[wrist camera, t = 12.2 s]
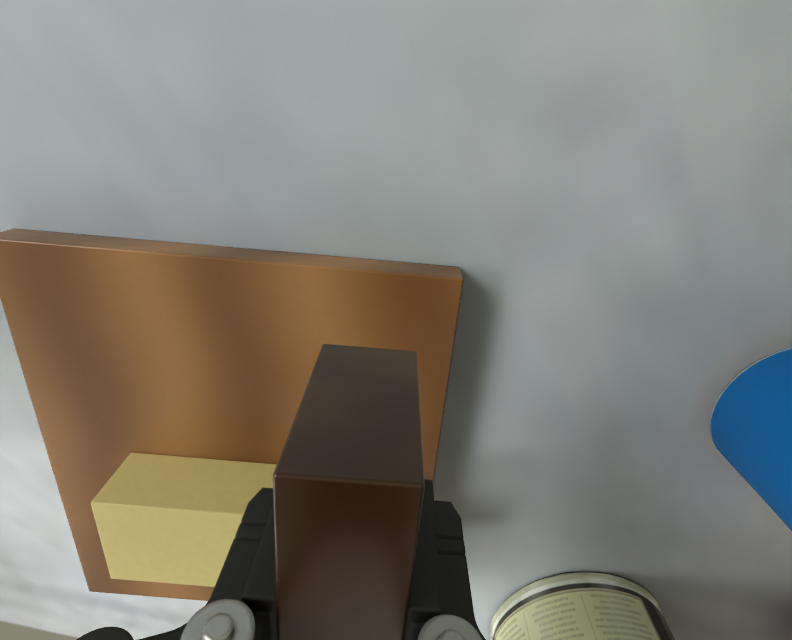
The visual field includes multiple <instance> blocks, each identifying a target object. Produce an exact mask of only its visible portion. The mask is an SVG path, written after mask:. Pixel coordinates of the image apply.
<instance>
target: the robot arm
mask: <svg viewBox="0 0 792 640" xmlns="http://www.w3.org/2000/svg"><path fill="white" fill-rule="evenodd" d="M424 482H425V489H424V496H423V504H422V511H421V519H420V526H419V533H418V541H417V548H416V556H415V563H414V571H413V578H412V586H411V593H410V601H409V608H408V611H407V619H406V628H405V636H404V640H486V639H485V638H484V637H483V635H482V634H481V632H480V630H479V628H478V626H477V624H476V621H475V617H474V612H473V605H472V597H471V590H470V583H469V575H468V568H467V561H466V556H465V546H464V541H463V531H462V524H461V518H460V516H459V515H458V513H457V511H456V510H455V508H454V506H453V505H452V503H451V502H446V501H434V495H433V483H432V480H428V479H424ZM77 640H134V639H133V638H132V636H131V635H130V633H129V632H127V631H126V630H124V629H122V628H118V627H104V628H100V629H96V630H94V631H91V632H89V633H87V634H85V635H83V636H82V637H80V638H78V639H77ZM139 640H277V600H276V572H275V537H274V501H273V488H262V489H261V490H260V491H259V492H258V493H257V494H256V495H255V496H254V497H253V498H252V499H251V500H250V501H249V502H248V505H247V507H246V510H245V512H244V515H243V517H242V520H241V524H240V525H239V527H238V530H237V532H236V535H235V539H234V540H233V542H232V545H231V547H230V550H229V552H228V555H227V557H226V560H225V562H224V565H223V567H222V570H221V572H220V575H219V577H218V580H217V582H216V585H215V587H214V590H213V592H212V595H211V597H210V599H209V601H208V602H207V604H206V605H205V606H204V607H203V608H201V609H200V610H199V611H198V612H196V613H195V614H194V615H193V616H192V618H191V619H190V620H189V622H188V623H186V624H184V625H183V626H181V627H179V628H177V629H175V630H172V631H169V632H166V633H162V634H158V635H154V636H150V637H147V638H143V639H139Z"/></svg>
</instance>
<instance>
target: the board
mask: <svg viewBox="0 0 792 640" xmlns="http://www.w3.org/2000/svg"><path fill="white" fill-rule="evenodd" d="M462 286H463V277H462V274H461V271H460V268H459V267H454V266H442V265H430V264H419V263H407V262H396V261H384V260H372V259H361V258H349V257H337V256H326V255H314V254H302V253H291V252H279V251H268V250H256V249H244V248H233V247H221V246H209V245H198V244H186V243H174V242H163V241H151V240H139V239H128V238H116V237H105V236H93V235H81V234H70V233H58V232H46V231H35V230H23V229H10V230H7V231H4V232H0V299H1V302H2V305H3V308H4V312H5V315H6V318H7V322H8V325H9V328H10V331H11V335H12V338H13V341H14V345H15V348H16V351H17V354H18V358H19V361H20V364H21V368H22V371H23V374H24V377H25V381H26V384H27V387H28V391H29V394H30V397H31V400H32V404H33V407H34V410H35V414H36V417H37V420H38V424H39V427H40V430H41V433H42V437H43V440H44V443H45V447H46V450H47V453H48V456H49V460H50V463H51V466H52V470H53V473H54V476H55V479H56V483H57V486H58V489H59V493H60V496H61V499H62V502H63V506H64V509H65V512H66V516H67V519H68V522H69V525H70V529H71V532H72V535H73V539H74V542H75V545H76V548H77V552H78V555H79V558H80V562H81V565H82V568H83V571H84V575H85V578H86V581H87V585H88V588H89V591H93V592H105V593H117V594H130V595H142V596H155V597H167V598H180V599H192V600H205V601H209V599H210V597H211V595H212V592H213V590H214V587H209V586H196V585H184V584H172V583H159V582H147V581H134V580H122V579H112V578H111V577H110V573H109V570H108V566H107V562H106V558H105V555H104V551H103V547H102V544H101V540H100V536H99V533H98V529H97V525H96V521H95V518H94V514H93V510H92V507H91V501H92V500H93V499H94V498H95V496H96V495H97V494H98V493H99V491H100V490H101V489H102V488H103V487H104V485H105V484H106V483H107V482H108V480H109V479H110V478H111V477H112V476H113V474H114V473H115V472H116V471H117V469H118V468H119V467H120V466H121V465H122V463H123V462H124V461H125V460H126V458H127V457H128V456H129V455H130V454H131V453H144V454H156V455H169V456H181V457H193V458H205V459H217V460H229V461H241V462H254V463H266V464H277V463H278V460H279V458H280V455H281V452H282V450H283V447H284V444H285V442H286V439H287V436H288V434H289V431H290V429H291V426H292V423H293V421H294V418H295V415H296V413H297V410H298V408H299V405H300V402H301V400H302V397H303V394H304V392H305V389H306V386H307V384H308V381H309V379H310V376H311V373H312V371H313V368H314V365H315V363H316V360H317V358H318V355H319V352H320V350H321V347H322V345H323V344H333V345H346V346H358V347H371V348H383V349H396V350H408V351H415V352H416V353H417V366H418V382H419V399H420V415H421V432H422V448H423V465H424V479H428V480H432V483H433V479H434V472H435V466H436V459H437V452H438V446H439V439H440V432H441V426H442V419H443V413H444V406H445V399H446V393H447V386H448V379H449V373H450V366H451V359H452V353H453V346H454V339H455V333H456V326H457V319H458V313H459V306H460V299H461V293H462Z"/></svg>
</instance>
